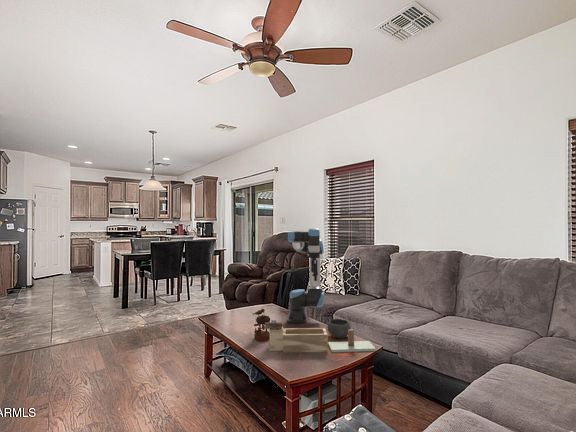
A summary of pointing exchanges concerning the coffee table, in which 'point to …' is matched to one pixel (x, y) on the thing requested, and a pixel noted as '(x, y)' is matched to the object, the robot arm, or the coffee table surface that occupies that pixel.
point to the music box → (259, 334)
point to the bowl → (338, 328)
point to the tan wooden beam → (268, 325)
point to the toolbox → (298, 339)
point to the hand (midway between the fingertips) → (314, 283)
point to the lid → (351, 345)
